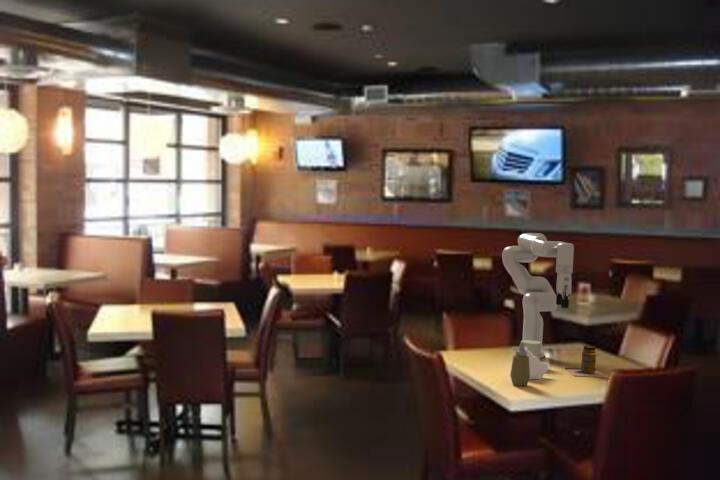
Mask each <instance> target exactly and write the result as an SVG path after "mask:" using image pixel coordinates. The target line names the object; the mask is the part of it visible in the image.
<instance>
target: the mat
mask: <svg viewBox="0 0 720 480" xmlns="http://www.w3.org/2000/svg"><path fill="white" fill-rule="evenodd" d="M566 371H567V372H569V373H570V374H571V375H572V377H583V378H584V377H586V378H604V377H606V376H605V375H604V374H603V373H602V372H600V371H599V370H597V369H596V370H595V373H599V374H594V375H583V374H579V373H576V372H574V371H581V370H574V369H566Z"/></svg>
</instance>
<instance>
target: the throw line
mask: <svg viewBox="0 0 720 480" xmlns="http://www.w3.org/2000/svg"><path fill="white" fill-rule="evenodd" d="M567 369H574V370H581V367H569V366H566V367H565V370H567ZM595 370H597V368H595Z"/></svg>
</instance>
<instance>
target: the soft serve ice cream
mask: <svg viewBox="0 0 720 480" xmlns="http://www.w3.org/2000/svg"><path fill="white" fill-rule="evenodd" d="M524 350H525V351H527V355H526V356H528V357H529V368H530V379H529V381H530V380H541V379H542V378H543V377H544V376H545V374H546V372H547V371H548V369H549V364H548V363H544V362H541V359H540V360H539V359H538V358H537V357H536V356H533V353H531V352H530V351H529V350H528V349H527V348H526V347H524Z"/></svg>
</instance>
